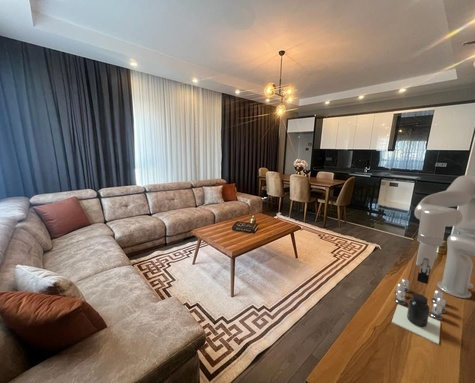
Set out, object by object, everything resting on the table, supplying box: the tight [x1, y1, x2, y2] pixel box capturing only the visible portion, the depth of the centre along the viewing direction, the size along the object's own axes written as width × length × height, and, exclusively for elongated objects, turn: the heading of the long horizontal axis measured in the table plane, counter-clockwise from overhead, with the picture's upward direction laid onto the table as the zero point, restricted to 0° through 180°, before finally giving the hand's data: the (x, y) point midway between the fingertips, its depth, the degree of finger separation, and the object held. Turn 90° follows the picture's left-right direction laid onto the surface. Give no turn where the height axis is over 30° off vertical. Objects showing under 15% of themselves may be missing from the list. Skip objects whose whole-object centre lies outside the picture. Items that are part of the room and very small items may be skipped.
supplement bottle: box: [407, 293, 430, 327], centre depth 89 cm, size 7×7×12 cm
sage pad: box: [391, 303, 441, 346], centre depth 90 cm, size 15×15×1 cm
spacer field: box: [394, 277, 447, 321], centre depth 102 cm, size 17×19×6 cm
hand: (423, 277), depth 86 cm, fingers open, 9 cm apart
